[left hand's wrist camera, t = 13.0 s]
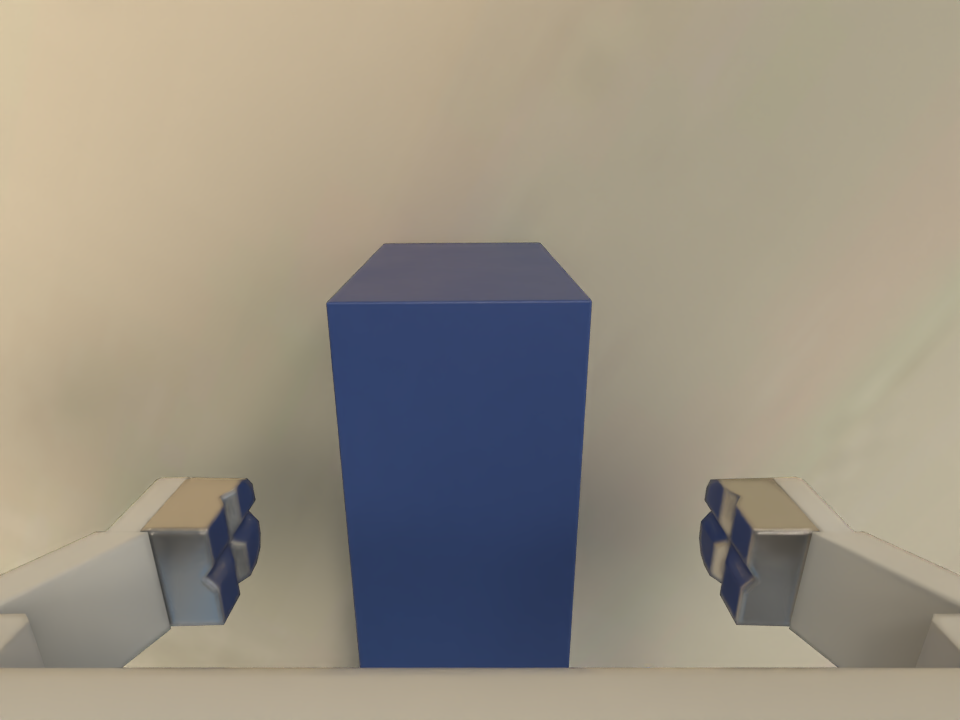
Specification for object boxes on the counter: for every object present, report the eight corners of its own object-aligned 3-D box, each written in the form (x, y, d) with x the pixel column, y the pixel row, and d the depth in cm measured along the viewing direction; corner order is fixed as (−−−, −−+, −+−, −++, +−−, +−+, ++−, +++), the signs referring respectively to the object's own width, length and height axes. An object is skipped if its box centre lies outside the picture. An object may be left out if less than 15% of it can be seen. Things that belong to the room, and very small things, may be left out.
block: (383, 243, 20) (325, 301, 12) (540, 242, 20) (592, 300, 12) (411, 733, 28) (388, 976, 19) (525, 730, 28) (549, 971, 19)
